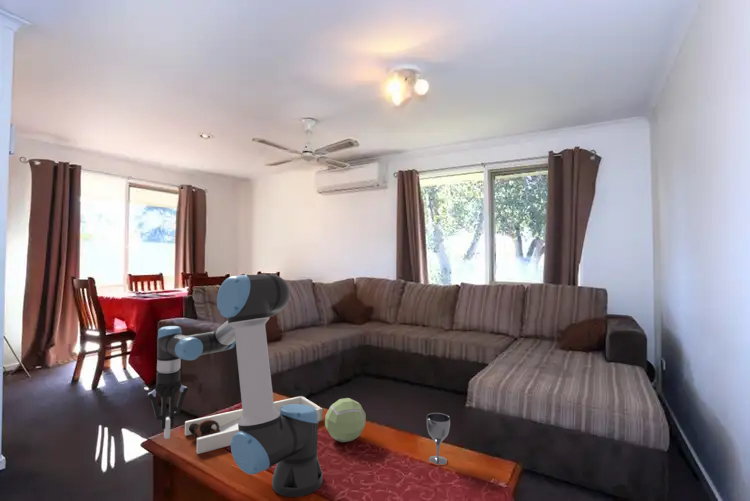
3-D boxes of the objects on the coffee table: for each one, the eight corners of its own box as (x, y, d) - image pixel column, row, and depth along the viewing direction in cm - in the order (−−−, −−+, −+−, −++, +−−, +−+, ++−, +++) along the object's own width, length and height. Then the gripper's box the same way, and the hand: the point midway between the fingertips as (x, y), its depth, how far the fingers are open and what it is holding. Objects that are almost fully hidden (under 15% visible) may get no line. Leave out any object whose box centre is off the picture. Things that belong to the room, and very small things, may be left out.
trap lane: (322, 425, 170) (322, 408, 170) (197, 459, 140) (197, 439, 140) (301, 410, 185) (301, 395, 185) (184, 439, 155) (185, 421, 155)
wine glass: (431, 468, 133) (432, 423, 133) (422, 456, 141) (423, 413, 141) (453, 465, 135) (454, 420, 135) (443, 454, 143) (443, 411, 143)
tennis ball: (370, 445, 149) (371, 404, 149) (331, 451, 143) (332, 409, 143) (357, 428, 163) (357, 391, 163) (321, 434, 157) (321, 395, 157)
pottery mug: (223, 434, 157) (225, 420, 153) (212, 456, 148) (214, 441, 144) (193, 426, 156) (194, 412, 152) (180, 447, 148) (181, 432, 144)
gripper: (185, 365, 150) (184, 428, 149) (146, 370, 142) (144, 437, 141) (190, 369, 144) (189, 436, 143) (149, 376, 136) (147, 446, 135)
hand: (166, 436), depth 142 cm, fingers closed
